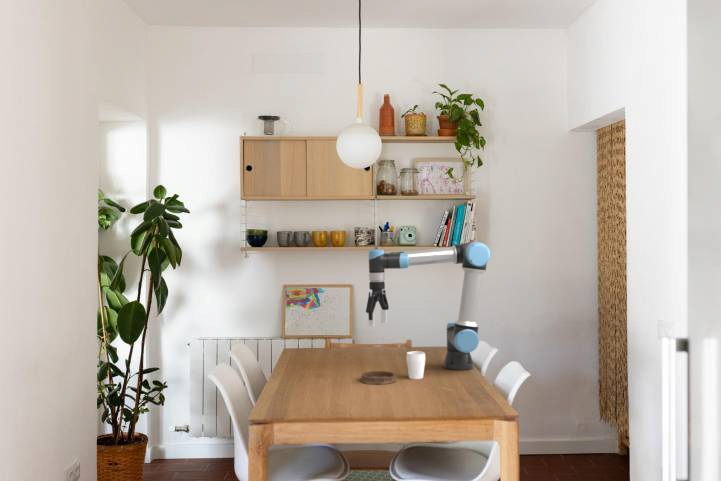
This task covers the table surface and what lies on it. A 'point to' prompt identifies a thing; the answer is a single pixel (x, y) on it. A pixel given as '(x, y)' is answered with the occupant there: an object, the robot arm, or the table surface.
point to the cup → (415, 364)
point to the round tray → (378, 377)
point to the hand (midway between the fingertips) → (377, 324)
